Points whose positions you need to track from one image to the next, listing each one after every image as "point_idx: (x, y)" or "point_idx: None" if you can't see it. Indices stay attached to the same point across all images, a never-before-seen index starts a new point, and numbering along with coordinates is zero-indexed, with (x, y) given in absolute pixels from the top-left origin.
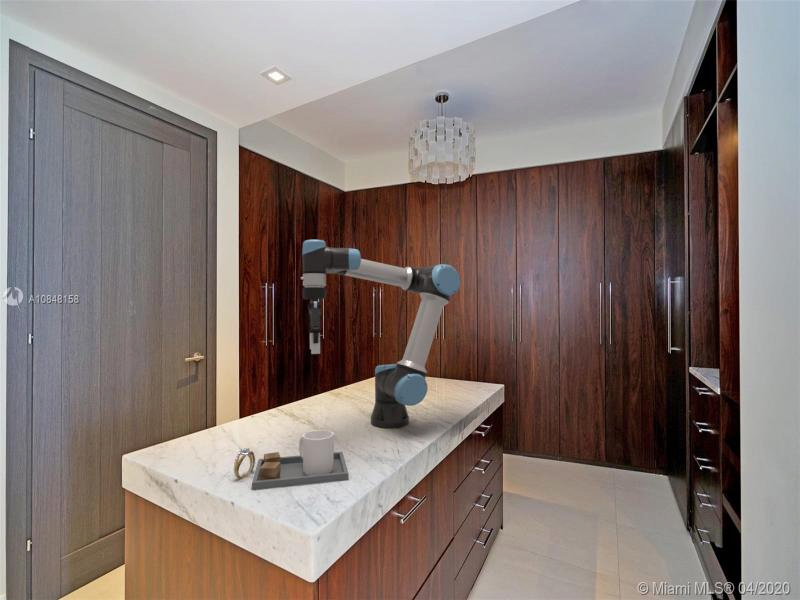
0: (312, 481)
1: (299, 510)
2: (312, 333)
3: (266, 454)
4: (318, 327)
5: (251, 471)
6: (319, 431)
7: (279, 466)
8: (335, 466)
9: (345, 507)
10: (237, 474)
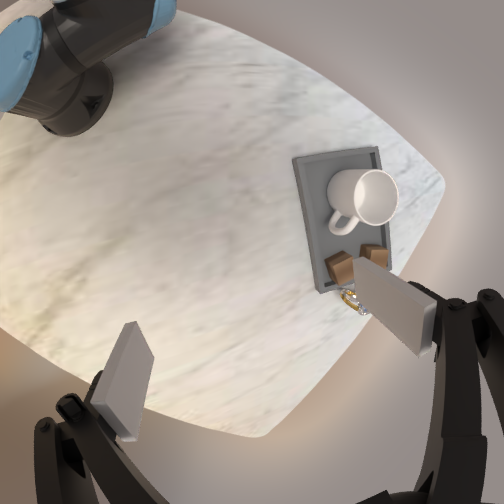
0: None
1: (421, 200)
2: (431, 343)
3: (340, 281)
4: (493, 311)
5: (343, 289)
6: (354, 199)
7: (371, 248)
8: (331, 167)
9: (418, 152)
10: None
